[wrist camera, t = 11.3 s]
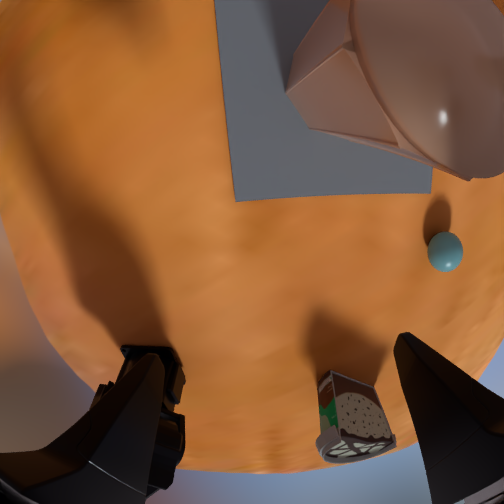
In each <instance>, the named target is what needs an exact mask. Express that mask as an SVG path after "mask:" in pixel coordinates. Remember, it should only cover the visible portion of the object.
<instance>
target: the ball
mask: <svg viewBox="0 0 504 504" xmlns="http://www.w3.org/2000/svg"><path fill="white" fill-rule="evenodd" d="M462 256H463V247H462V244H461V241H460V240H459V238H458V237H457V236H456V235H454V234H453V233H451V232H440V233H438V234H436V235H435V236H434V237H433V238H432V239H431V241H430V243H429V245H428V258H429V261H430V263H431V264H432V266H433V267H434V268H436V269H437V270H439V271H442V272H449V271H452V270H454V269H455V268H456V267H457V266H458V265H459V264H460V262H461V260H462Z"/></svg>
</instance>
